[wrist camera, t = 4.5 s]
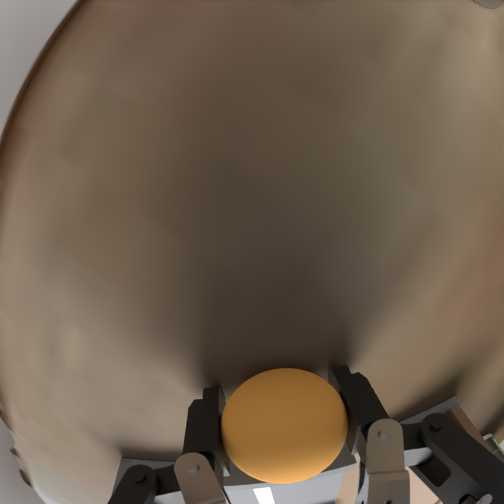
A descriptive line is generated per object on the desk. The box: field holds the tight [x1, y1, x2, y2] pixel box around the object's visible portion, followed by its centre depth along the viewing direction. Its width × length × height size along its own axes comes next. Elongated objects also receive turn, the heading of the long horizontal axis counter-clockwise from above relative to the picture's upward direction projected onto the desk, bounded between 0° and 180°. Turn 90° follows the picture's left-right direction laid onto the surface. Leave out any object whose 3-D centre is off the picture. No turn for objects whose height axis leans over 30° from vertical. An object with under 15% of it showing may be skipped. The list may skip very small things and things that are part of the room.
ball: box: [221, 368, 348, 484], centre depth 9 cm, size 5×5×5 cm
